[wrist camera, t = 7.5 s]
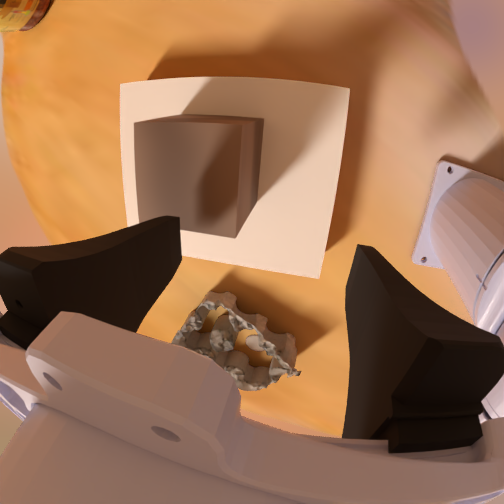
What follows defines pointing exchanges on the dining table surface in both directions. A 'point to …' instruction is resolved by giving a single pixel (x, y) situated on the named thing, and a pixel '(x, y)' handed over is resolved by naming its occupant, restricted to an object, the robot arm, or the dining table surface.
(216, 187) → the walnut cube
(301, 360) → the dining table surface
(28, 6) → the sauce bottle
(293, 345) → the egg carton
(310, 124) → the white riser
